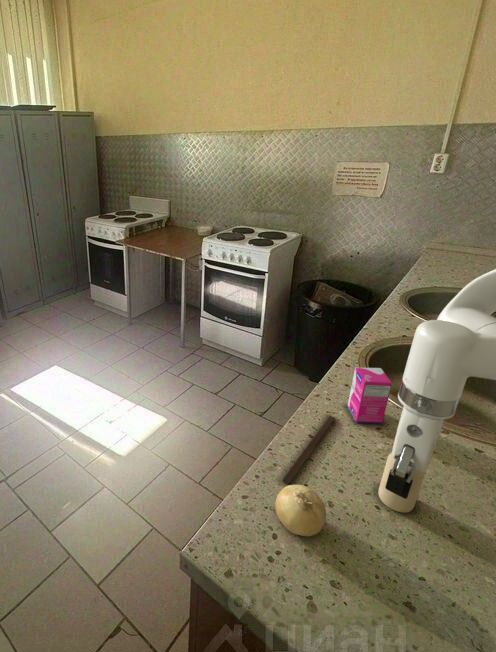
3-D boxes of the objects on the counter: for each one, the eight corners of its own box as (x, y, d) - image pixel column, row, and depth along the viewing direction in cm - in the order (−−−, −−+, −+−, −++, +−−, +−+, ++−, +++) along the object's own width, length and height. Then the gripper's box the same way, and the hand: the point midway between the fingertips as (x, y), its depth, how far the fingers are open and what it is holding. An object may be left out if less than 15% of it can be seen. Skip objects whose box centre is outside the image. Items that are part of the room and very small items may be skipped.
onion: (264, 509, 70) (268, 480, 67) (299, 494, 73) (304, 466, 70) (296, 551, 63) (301, 520, 60) (334, 533, 66) (341, 503, 63)
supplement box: (346, 406, 94) (354, 366, 90) (372, 408, 94) (382, 367, 89) (354, 423, 89) (364, 381, 85) (383, 425, 88) (394, 383, 84)
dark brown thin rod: (334, 420, 90) (335, 417, 90) (288, 484, 75) (289, 482, 74) (329, 417, 91) (329, 415, 91) (282, 481, 75) (282, 479, 75)
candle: (379, 506, 70) (391, 464, 66) (376, 482, 74) (388, 441, 71) (416, 517, 68) (431, 474, 64) (411, 492, 72) (424, 451, 68)
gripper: (447, 437, 54) (415, 526, 61) (465, 381, 66) (437, 461, 72) (385, 412, 59) (362, 497, 66) (412, 364, 70) (391, 440, 77)
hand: (402, 477), depth 69 cm, fingers open, 7 cm apart
